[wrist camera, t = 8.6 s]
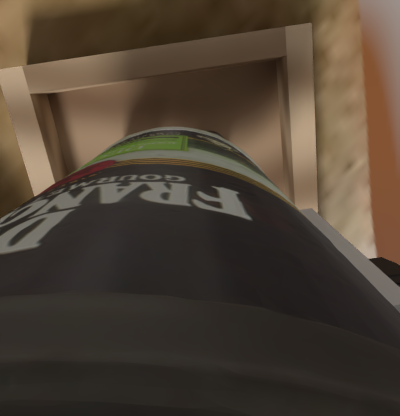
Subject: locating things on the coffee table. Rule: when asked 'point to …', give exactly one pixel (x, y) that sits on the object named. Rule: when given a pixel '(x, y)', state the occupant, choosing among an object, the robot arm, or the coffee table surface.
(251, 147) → the peg frame
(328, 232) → the robot arm
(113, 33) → the coffee table surface
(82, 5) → the coffee table surface
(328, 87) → the coffee table surface
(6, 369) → the coffee can
